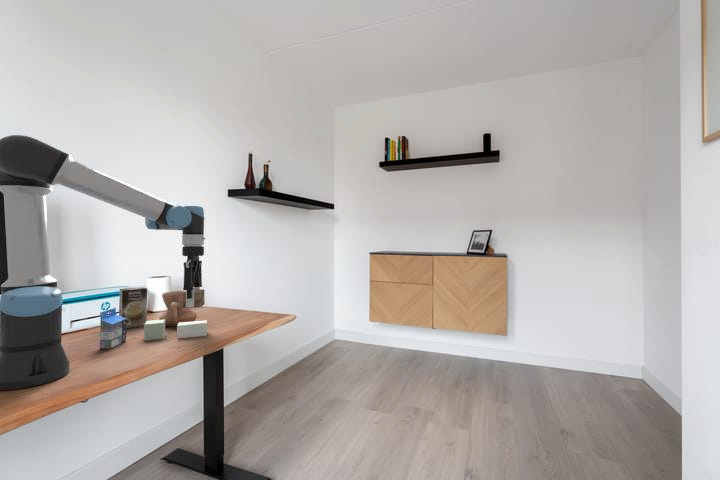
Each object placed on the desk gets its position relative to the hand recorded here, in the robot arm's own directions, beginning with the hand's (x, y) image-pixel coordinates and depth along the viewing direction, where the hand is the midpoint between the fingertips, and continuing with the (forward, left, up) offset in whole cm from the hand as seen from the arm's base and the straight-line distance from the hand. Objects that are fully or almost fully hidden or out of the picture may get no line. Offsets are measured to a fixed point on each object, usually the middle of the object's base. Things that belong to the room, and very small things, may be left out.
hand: (193, 305), depth 128 cm
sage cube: (-1, +13, -12) cm, 18 cm away
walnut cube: (0, 0, 0) cm, 0 cm away
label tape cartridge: (-9, +23, -12) cm, 27 cm away
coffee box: (+19, +30, -12) cm, 37 cm away
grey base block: (0, 0, -12) cm, 12 cm away
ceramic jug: (+19, +12, -12) cm, 25 cm away
